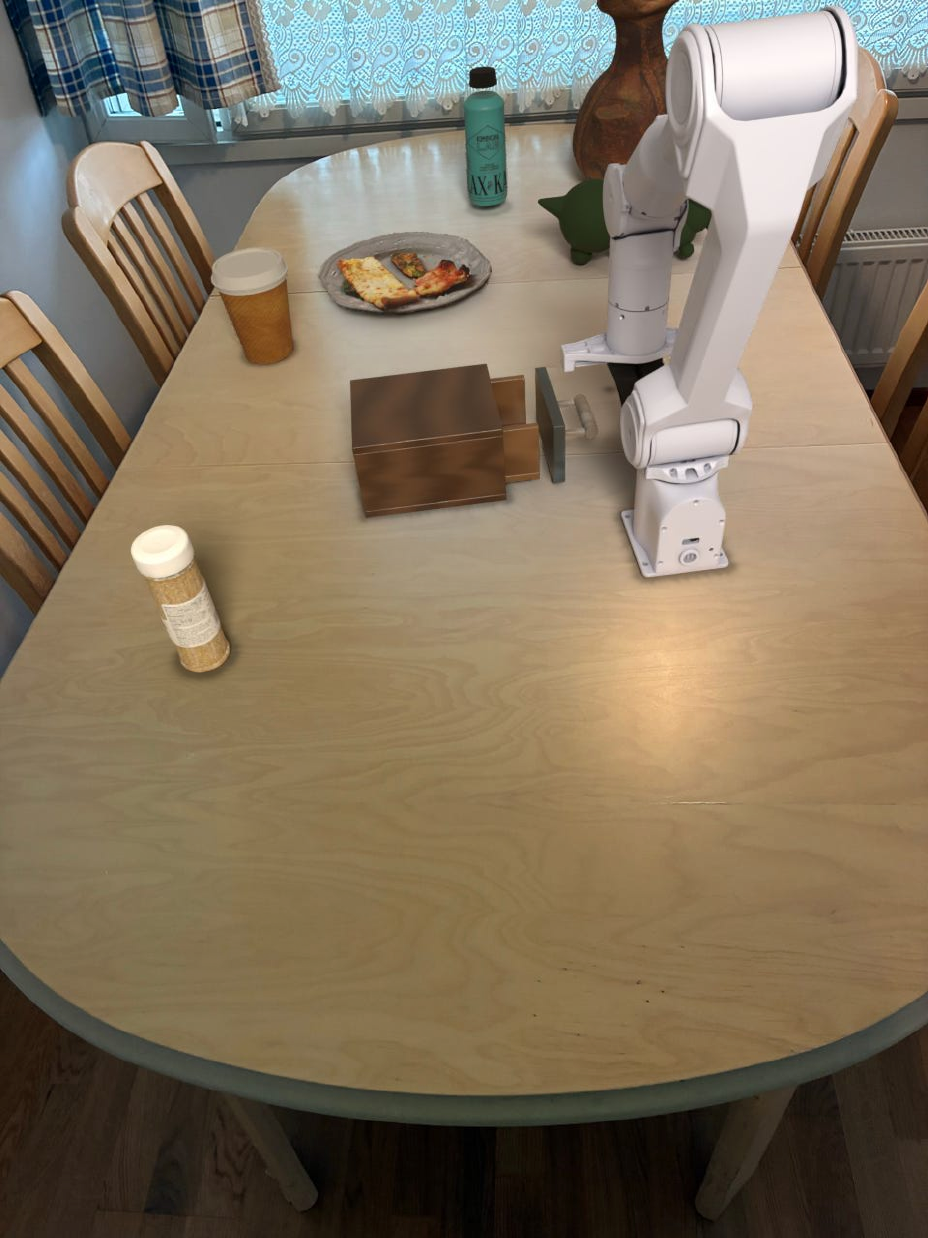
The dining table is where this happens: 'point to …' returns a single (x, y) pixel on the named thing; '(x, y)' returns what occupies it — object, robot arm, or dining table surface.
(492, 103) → the beverage bottle
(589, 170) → the jug
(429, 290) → the food plate
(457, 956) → the dining table surface
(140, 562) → the spice jar
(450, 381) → the cabinet
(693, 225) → the toy figurine
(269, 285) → the disposable coffee cup
